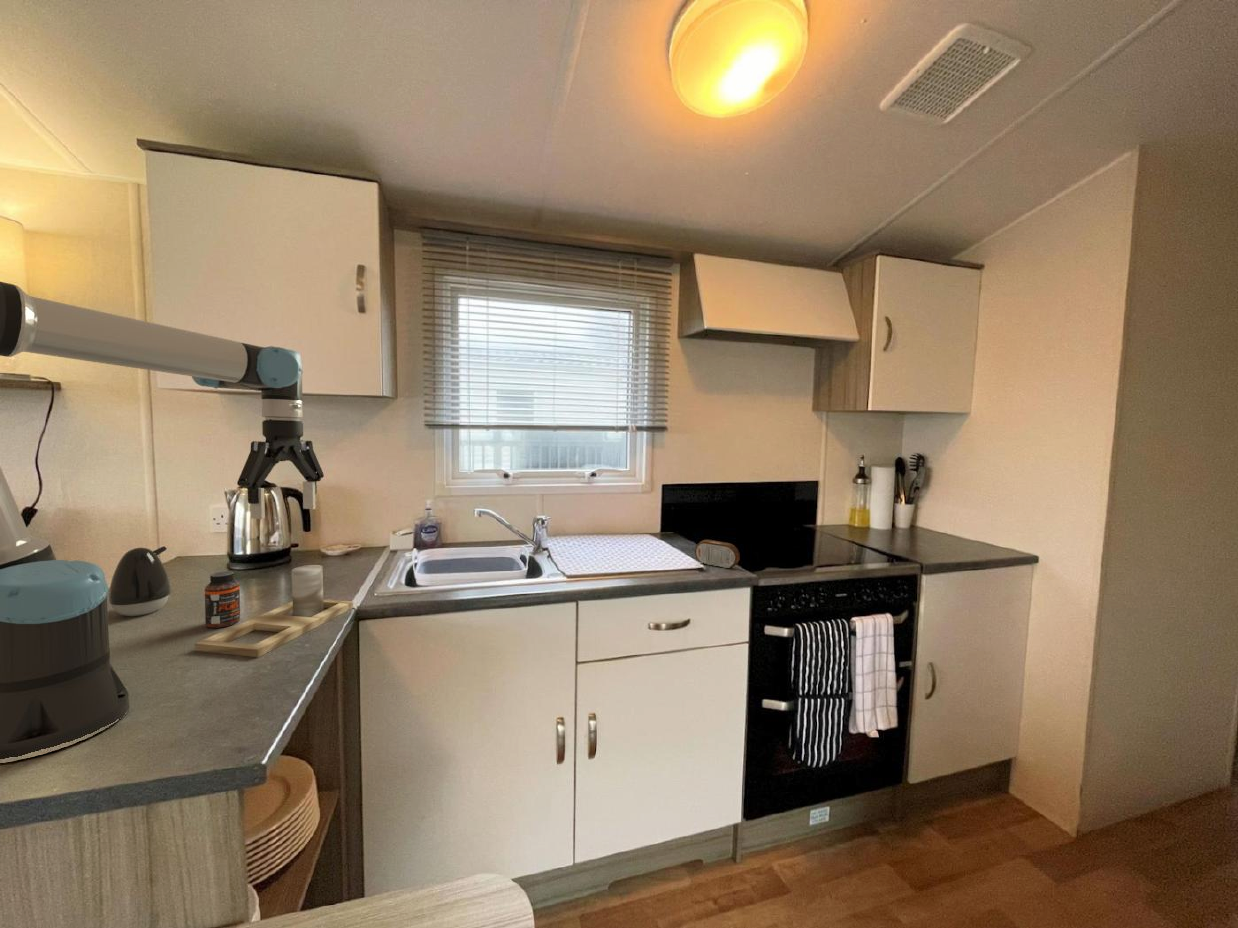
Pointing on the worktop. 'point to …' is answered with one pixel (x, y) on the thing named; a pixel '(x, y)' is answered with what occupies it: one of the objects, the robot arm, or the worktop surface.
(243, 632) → the frame
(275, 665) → the worktop surface
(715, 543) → the tin
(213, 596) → the supplement bottle
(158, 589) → the pump dispenser
